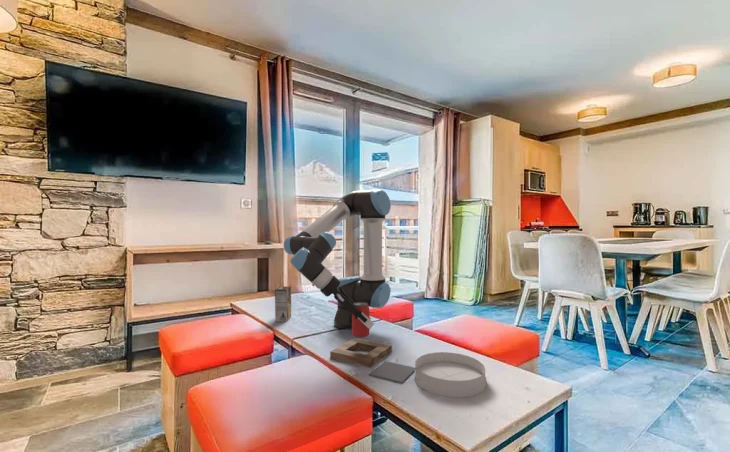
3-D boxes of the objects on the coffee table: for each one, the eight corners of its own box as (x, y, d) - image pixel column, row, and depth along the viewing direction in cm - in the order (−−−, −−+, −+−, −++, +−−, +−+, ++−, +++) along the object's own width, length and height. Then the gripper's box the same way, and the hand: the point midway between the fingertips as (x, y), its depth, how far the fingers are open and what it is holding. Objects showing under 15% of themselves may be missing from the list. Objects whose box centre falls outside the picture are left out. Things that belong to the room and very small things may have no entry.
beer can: (367, 338, 130) (367, 306, 130) (350, 337, 131) (349, 305, 131) (371, 332, 136) (370, 301, 136) (354, 331, 138) (354, 301, 137)
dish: (400, 374, 117) (400, 359, 117) (451, 361, 128) (451, 347, 128) (447, 405, 98) (447, 387, 98) (501, 386, 109) (501, 370, 109)
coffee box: (279, 316, 188) (279, 286, 187) (291, 316, 188) (291, 286, 187) (274, 321, 179) (274, 289, 178) (287, 321, 178) (287, 289, 178)
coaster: (385, 362, 127) (385, 361, 127) (416, 369, 121) (416, 367, 121) (368, 375, 117) (368, 373, 117) (401, 383, 111) (401, 382, 111)
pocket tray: (354, 343, 146) (354, 337, 146) (391, 351, 137) (391, 345, 137) (330, 357, 131) (330, 351, 131) (370, 367, 123) (370, 360, 123)
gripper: (318, 284, 140) (359, 323, 144) (320, 295, 121) (367, 339, 124) (331, 270, 141) (372, 309, 144) (335, 279, 122) (382, 323, 125)
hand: (370, 323), depth 134 cm, fingers closed on beer can, 7 cm apart
